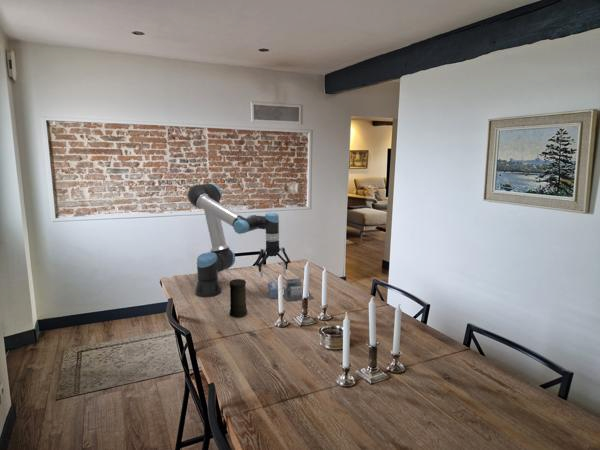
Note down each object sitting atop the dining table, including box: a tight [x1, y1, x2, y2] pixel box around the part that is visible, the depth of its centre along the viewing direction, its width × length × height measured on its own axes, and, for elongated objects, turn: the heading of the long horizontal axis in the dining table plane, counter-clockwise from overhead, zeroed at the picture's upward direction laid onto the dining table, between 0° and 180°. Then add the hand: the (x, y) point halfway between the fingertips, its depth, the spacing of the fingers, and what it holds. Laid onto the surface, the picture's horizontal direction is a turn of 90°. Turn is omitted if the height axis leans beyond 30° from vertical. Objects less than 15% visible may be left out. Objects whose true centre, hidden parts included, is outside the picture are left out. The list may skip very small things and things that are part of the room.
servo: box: [267, 281, 279, 299], centre depth 229 cm, size 9×4×9 cm, turn 16°
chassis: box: [283, 277, 315, 303], centre depth 233 cm, size 20×16×8 cm
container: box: [229, 278, 248, 319], centre depth 203 cm, size 9×9×18 cm
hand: (273, 275), depth 228 cm, fingers open, 13 cm apart
